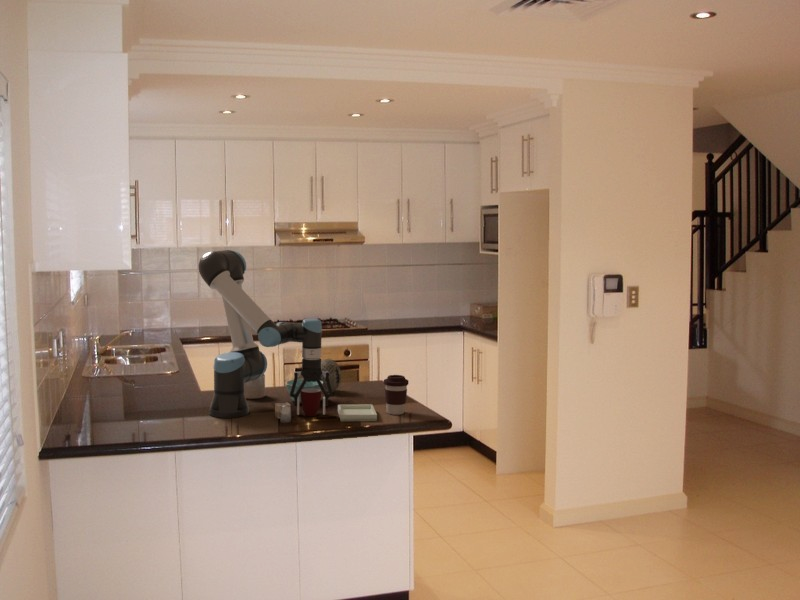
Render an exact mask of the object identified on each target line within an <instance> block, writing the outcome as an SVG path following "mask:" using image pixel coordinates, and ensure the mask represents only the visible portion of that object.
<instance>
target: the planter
mask: <svg viewBox="0 0 800 600" xmlns="http://www.w3.org/2000/svg"><path fill="white" fill-rule="evenodd" d="M244 395H245V398H246V400H259V399H262V398H264V397H265V396H266V375H265V373H264V374H263V375H262V376H261V377H259V378H258V379H256V380H252V381H249V382H246V383H244Z"/></svg>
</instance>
